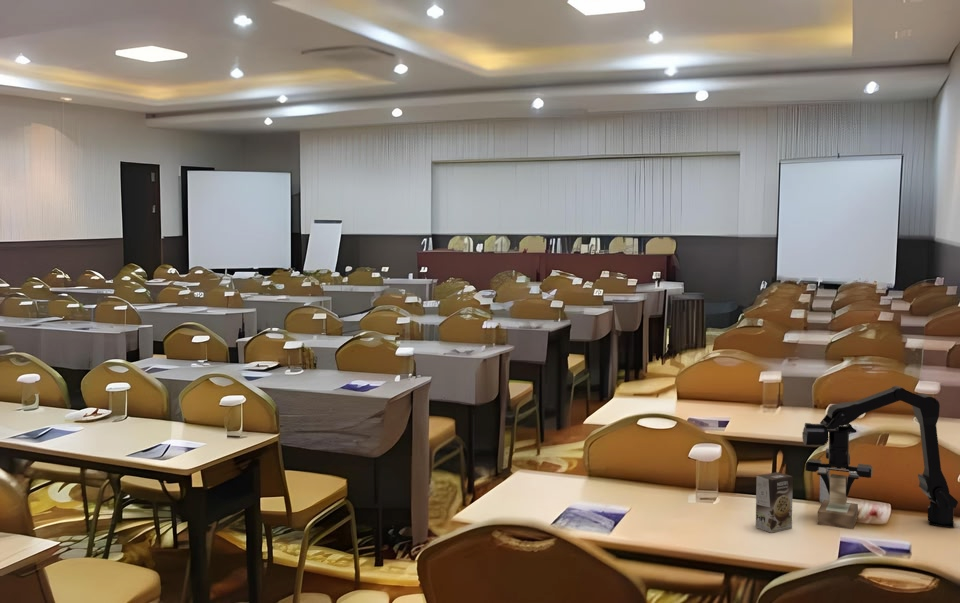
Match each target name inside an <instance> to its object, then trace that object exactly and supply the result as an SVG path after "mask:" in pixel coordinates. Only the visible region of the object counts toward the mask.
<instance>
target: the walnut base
mask: <svg viewBox="0 0 960 603" xmlns="http://www.w3.org/2000/svg"><path fill="white" fill-rule="evenodd" d="M858 512H859V503H854V502H848V501H847V502H846V505H843V504H835V503H830V500H823V502H822V503H821V504H820V505H819V508H818V510H817V525H821V526H829V527H835V528H842V529H843V528H844V529H850V530H854V528H855V525H856V522H857V520H856V518H857V519H858V517H857V514H858V515H859V513H858Z"/></svg>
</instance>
